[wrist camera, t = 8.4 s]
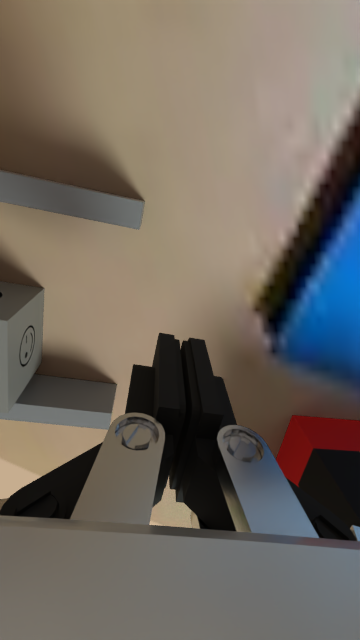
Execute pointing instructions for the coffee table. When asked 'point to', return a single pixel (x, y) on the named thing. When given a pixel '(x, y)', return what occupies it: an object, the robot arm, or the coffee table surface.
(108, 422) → the corral
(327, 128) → the coffee table surface
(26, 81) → the coffee table surface
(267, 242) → the coffee table surface
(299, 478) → the puzzle toy
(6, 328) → the dice cube
